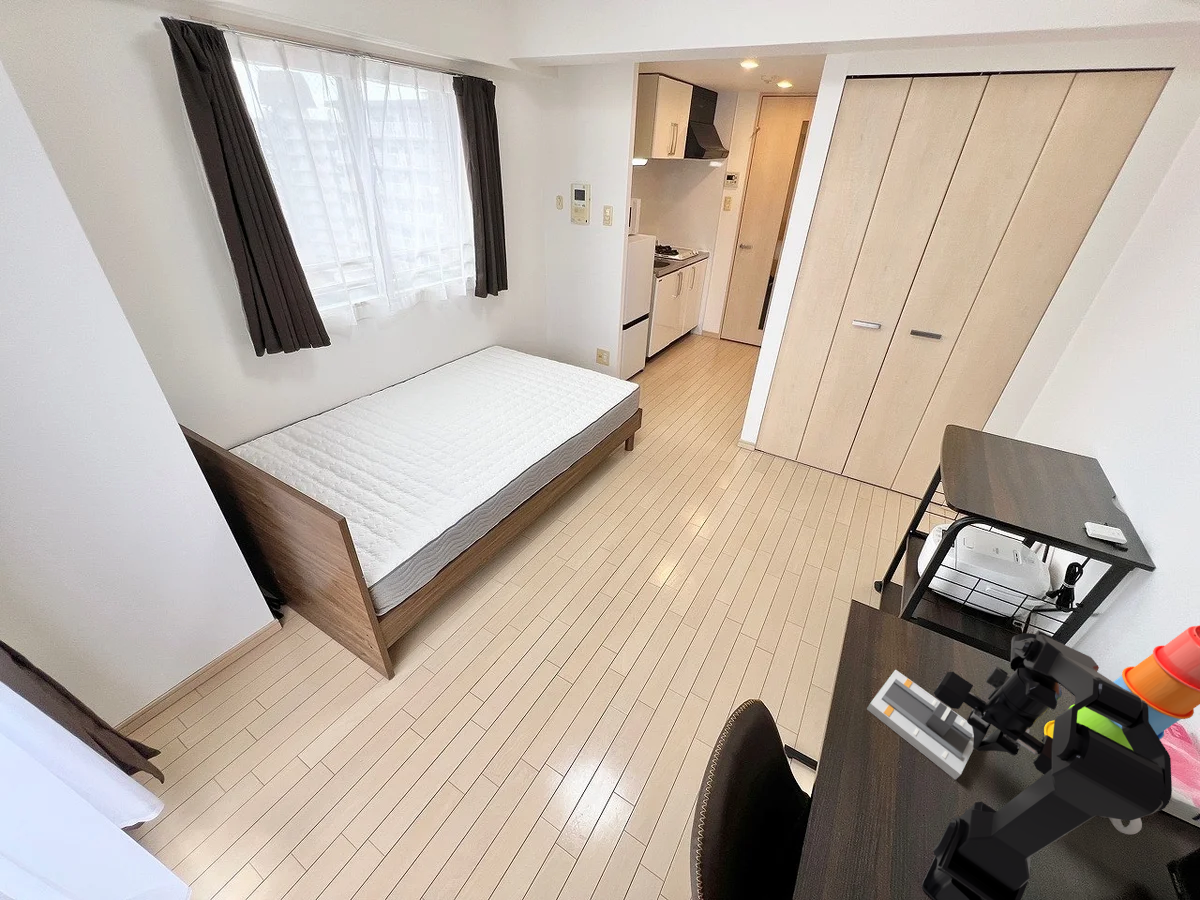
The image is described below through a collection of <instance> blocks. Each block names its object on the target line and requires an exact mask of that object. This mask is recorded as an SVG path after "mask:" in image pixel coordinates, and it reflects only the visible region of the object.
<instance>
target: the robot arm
mask: <svg viewBox="0 0 1200 900" xmlns="http://www.w3.org/2000/svg"><path fill="white" fill-rule="evenodd" d="M1010 644H1011V645H1010V646H1011V648H1010V669H1011V670H1013V673H1012V674H1011V675H1010V676H1008V675H1009V673H1008V672H1007V671H1006V670H1004V669H1002V668H1000V667H999V666H995V667H994V668H993V669H992V670H991V672H990V673H989V675H988V676H987V677H986V680H985V683H987V684H988V685H990V686H991V687H992V688H994V689H993V690H992V692H990V694H989V696H988V699H987V702H986V701H985V700H983V699H981V698H980V696H977V695H976V694H974V693H973V692H972V691H971V690H972V689H973V687H974V685H973V684H972V683H971V682H969V681H968V680H966V679H965V678H964V677H962V676H960V675H959V674H957V672H956V673H955V672H954V671H947V672H946V674H945V675H944V676H943V677H942V678H941V680H940V682H939V684H938V685H937V687H936V689H935V690H934V691H933V695H934V697H935V698H936V699H937V700H939V701H940V702H942V703H943V704H944V705H946V706H947V707H949V708H951V709H955V710H959V709H960V708H961V706H962V705H963V704H966V705H967V706H969V707H970V708H972V709H971V712H970V713H969V715H968V717H967V718H966V720H967V722H968V724H969V725H971V726H972V729H973V734H974V742H973V748H974V749H973V750H976V751H977V752H993V751H995V752H1004V753H1008V754H1010V755H1011V756H1013V757H1014V756H1017V755H1018V753H1019V751H1020V749H1021V747H1022V748H1025V749H1026V750H1027V751H1029V752H1030V753H1032V754H1033V755H1034V756H1037V757H1036V758H1035V759H1034V760H1033V764H1034V767H1035V769H1036V770H1037V771H1038V772H1040V773H1042V774H1043V775H1042V776H1040V777H1039V778H1038V779H1036V781H1034V782H1033V783H1031V785H1029V786H1028V787H1026V788H1025V789H1023V790H1022V791H1021V792H1020V793H1019V794H1017V795H1015V797H1013V798H1012V799H1011V800H1009V801H1008V802H1006V804H1004V805H1003V806H1002V807H1001V808H999V809H998V810H996V809H994V808H993V807H991V806H989V805H988V804H986V803H984V802H982V801H977V802H974V803H973V805H972V806H971V807H970V808H967V809H965V810H964V813H963V814H961V815H960V816H959V815H957V816H955V817H953V818H951V820H950V822H948V823H947V825H946V827H945V828H944V831H943V833H942V835H941V837H940V839H939V841H938V843H937V844H935V846H934V847H933V849H932V853H933V854H934V857H933V860H932V862H931V863H930V866H929V868H928V870H927V872H926V874H925V877H924V879H923V880H922V883H921V889H922V890H923V891H924V892H925V893H926V894H927V895H928V896H929V897H930V898H931V899H932V900H1022V898H1023V897H1024V893H1025V891H1026V888H1027V886H1028V883H1029V881H1030V879H1031V857H1032V856H1034V855H1036V854H1037V853H1038V852H1040V851H1042V850H1043V849H1045V848H1046V847H1049V846H1050V845H1051V844H1053V843H1055V842H1056V841H1058V840H1060V839H1062V837H1064V836H1066V835H1067V834H1069V833H1072V831H1074V830H1075V829H1077V828H1079V827H1080V826H1082V825H1084V824H1085V823H1087V822H1089V821H1090V820H1091V819H1093V818H1095V817H1101V816H1102V817H1101V818H1106V817H1108V819H1109V818H1115V819H1121V821H1122V820H1123V821H1129V822H1130V820H1135V819H1138V818H1144V817H1147V816H1150V815H1152V814H1155V813H1156V812H1160V811H1163V810H1164V809H1165V808H1166V807H1167V806H1168V805H1169V803H1170V802H1171V798H1172V795H1173V794H1172V792H1173V785H1172V784H1173V783H1172V782H1173V781H1172V780H1173V779H1172V761H1171V755H1170V753H1169V751H1168V750H1167V748H1166V747H1165V745H1164V744H1163V742H1162V741H1161V739H1159V738H1158V736H1157V734H1156V733H1155V731H1154V730H1153V728H1152V727H1151V725H1150V723H1149V711H1148V704H1147V703H1146V702H1145V701H1143V700H1141V698H1140V697H1139V696H1138V695H1136V694H1133V693H1131V692H1129V691H1127V690H1125V689H1123V688H1122V687H1120V686H1118V685H1117V684H1115V683H1114V681H1112V680H1111V679H1109V678H1108V677H1106V676H1104V675H1103V674H1102V673H1100V672H1098V671H1099V670H1100V669H1099V668H1100V667H1099V665H1098V664H1097V663H1096V661H1095V660H1094V659H1093V658H1092V657H1091V656H1090V655H1087V654H1085V653H1083V652H1082V651H1081V652H1080V651H1079V650H1077V649H1075V648H1073V647H1070V646H1068V645H1066V644H1063V643H1061V642H1059V641H1057V640H1055V639H1054V638H1053V636H1052V635H1050V634H1048V633H1045V632H1043V631H1041V630H1037V631H1036V632H1035V633H1029V632H1025V633H1024V632H1022V633H1019V634H1015V635H1014V636H1012V638H1011V643H1010ZM1060 685H1061V686H1062V687H1063V688H1064V689H1066V690H1067V691H1068V692H1069V693H1070V694H1072V695H1073V696H1074V698H1075V701H1074V704H1075V705H1074V704H1073V705H1074V706H1073V707H1071V708H1069V707H1068V709H1066V710H1065V711H1063V712H1062V713H1060V714H1059V715H1057V716H1056V717H1055V719H1054V720H1055V722H1054V731H1053V738H1051V737H1050V736H1048V735H1044V736H1043V737H1042V738H1041V741H1040V740H1038V739H1037V738H1036V737H1035V736H1033V735H1031V734H1030V728H1031V727H1032V726H1033V725H1034V724H1035V723H1036V722H1037V720H1039V719H1040V718H1041V717H1042V716H1043V715H1044V714H1045V713H1046V712H1047V711H1048V710H1049V709H1051V710H1054V711H1055V710H1056V708H1057V706H1058V701H1059V699H1060V698H1061V697H1062V689H1061V688H1062V687H1060ZM1083 707H1086V708H1088V709H1090V710H1092V711H1094V712H1096V713H1098V714H1100V715H1102V716H1104V717H1106V718H1108V719H1110V720H1112V721H1114V722H1116V723H1118V724H1120V725H1122V731H1123V734H1124V735H1125V737H1126V739H1127V740H1128V742H1129V744H1130V745H1131V747H1132V749H1133V750H1131V749H1129V748H1127V747H1125V746H1123V745H1121V744H1119V743H1118V742H1116V741H1114V740H1112V739H1110V738H1108V737H1106V736H1104V735H1102V734H1100V733H1098V732H1096V731H1094V730H1092V729H1091V728H1089V727H1087V726H1085V725H1082V724H1079V723H1077V713H1078V710H1080V709H1082V708H1083ZM991 725H992V726H993V727H995V728H996V729H995V730H994V731H993V732H991V733H990V734H989V735H988V736H986V734H987V733H988V731H989V728H990V726H991ZM985 736H986V737H985Z"/></svg>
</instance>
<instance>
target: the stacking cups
mask: <svg viewBox="0 0 1200 900" xmlns="http://www.w3.org/2000/svg"><path fill="white" fill-rule="evenodd" d="M1113 682H1114V683H1115V684H1117V685H1118V686H1120V687H1122V688H1123V689H1125V690H1127V691H1129V692H1131V693H1133V694H1136V695H1138V696H1139V697H1140V698H1141V700H1143V701H1145V702H1146V703H1147V704H1148V711H1149V723H1150V725H1151V727H1152V728H1153V730H1154V731H1155V733H1156V734H1157V736H1158V738H1159V739H1160V740H1162V739H1163V738H1164V736H1165V730H1167V729H1169V728H1170V727H1172V726H1173V725H1175V724H1176V723H1178V722H1179V721H1180V720H1187V719H1190V718H1191V717H1193V716H1194V713H1195V712H1194V711H1195V710H1194V709H1195V708H1197V707H1198V706H1200V625H1194V626H1193V625H1192V626H1190V627H1188V628H1186V629H1185V630H1183V632H1181V633H1180V634H1178V635H1177V636H1176V637H1175V638H1173V639H1172V640H1170V641H1169V642H1167V644H1165V645H1158V646H1154V648H1153V650H1152V653H1151V654H1150V655H1149V656H1147V657H1146V658H1145V659H1144V660H1142V661H1141V662H1140V663H1138V664H1136V665H1135V666H1127V667H1125V668H1124V669H1123V670H1122V671H1121V675H1120V676H1119V677H1118V678H1117V679H1115V680H1114V681H1113ZM1074 705H1075V703H1074V704H1072V705H1070V706H1069V707H1068V709H1069V708H1071V707H1073V706H1074ZM1054 722H1055V719H1054V720H1050V721H1048V722H1046V724H1045V725H1044V727H1043V733H1044V736H1045V735H1048V736H1050V737H1051V738H1053V731H1054ZM1077 723H1079V724H1082V725H1085V726H1087V727H1089V728H1091V729H1092V730H1094V731H1096V732H1098V733H1100V734H1102V735H1104V736H1106V737H1108V738H1110V739H1112V740H1114V741H1116V742H1118V743H1119V744H1121V745H1123V746H1125V747H1127V748H1129V749H1131V750H1133V749H1132V747H1131V745H1130V744H1129V742H1128V740H1127V739H1126V737H1125V735H1124V734H1123V731H1122V725H1120V724H1118V723H1116V722H1114V721H1112V720H1110V719H1108V718H1106V717H1104V716H1102V715H1100V714H1098V713H1096V712H1094V711H1092V710H1090V709H1088V708H1086V707H1083V708H1082V709H1080V710H1078V713H1077Z"/></svg>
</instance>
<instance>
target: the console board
mask: <svg viewBox="0 0 1200 900" xmlns="http://www.w3.org/2000/svg"><path fill="white" fill-rule="evenodd" d="M940 702H941V703H942V704H944V702H942V701H941V700H939V699H938V698H937V697H936V696H933V695H932V694H930V693H929V692H928V691H926V690H925V689H924V688H922V687H920V685H919V684H917V683H915V681H912V680H911V679H909V678H908V676H906V675H904V674H902V673H901V672H900V671H898V670H897V669H895V670H894V671H893V672H892V674H891V675H889V678H887V680H886V681H885V683H884V684H883V685H882V687H881V688H880V689H879V690H878V691H877V693H876V695H875V696H874V698H873V699H872V700H871V702H870V703H869V704H868V706H867V707H866V710H867V711H868V712H869V713H871V714H872V715H873V716H875V717H876V718H877V719H878V720H880V721H881V722H882V723H883V724H884V725H886V726H887V727H888V728H890V729H891V730H892V731H893V732H895V733H896V734H897V735H898V736H900V737H901V738H902V739H904V740H905V742H908V744H910V745H911V746H913V747H914V748H915V749H916V750H917V751H918V752H919V753H920V754H922V755H923V756H924V757H926V758H927V759H928V760H930V761H931V762H933V764H934V765H936V766H937V767H938V768H940V769H941V770H942V771H943V772H944V773H946V774H947V775H949V777H951V778H952V779H953V780H955V781H956V780H957V779H958V778H959V777H960V776H961V775H962V773H963V771H964V769H965V767H966V764H967V763H968V761H969V759H970V758H971V757H970V756H971V754H972V753H973V750H975V749H974V748H973V742H974V734H973V729H972V726H971V725H969V724H968V722H967V719H965V718H964V717H963V716H961V715H960V714H958V713H957V712H955V711H954V710H953V709H951V710H952V711H953V712H955V713H956V714H958V716H957V717H956V719H955V721H954V723H953V724H952V726H951V728H950V729H949V730H948V731H947V732H946V733H945V735H944V736H943V737H942V736H941V735H939V734H938V733H937V732H935V731H934V730H933V729H931V728H930V727H929V726H927V725H926V722H927V720H928V719H929V717H930V715H931V714H932V712H933V711H934V710H935V708H936V707H937V706H938V705H939V703H940ZM944 705H945V706H946V707H948V705H946V704H944Z"/></svg>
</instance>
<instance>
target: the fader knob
mask: <svg viewBox="0 0 1200 900" xmlns="http://www.w3.org/2000/svg"><path fill="white" fill-rule="evenodd" d="M941 702H942V701H940V703H939V705H938V706H937V707H936V708H935V710H934V711H933V712H932V714H931V715H930V717H929V719H928V720H927V722H926V725H927V726H929V727H930V728H931V729H933V730H934V731H935V732H937V733H938V734H939V735H941V736H942V737H943V736H944V735H945V733H946V732H947V731H948V730H949V729H950V728H951V726H952V724H953V723H954V721H955V719H956V717H957V716H958V715H959V713H957V712H956V713H957V714H956V713H955V711H954V710H953V709H952V708H951V707H949V706H947V705H946V704H945V703H943V702H942V703H943V704H942V703H941ZM945 705H946V706H947V707H946V706H945ZM952 710H953V711H954V712H953V711H952Z"/></svg>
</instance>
